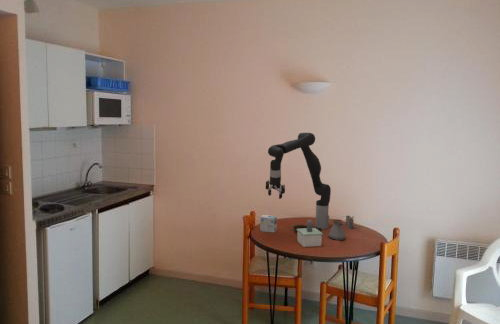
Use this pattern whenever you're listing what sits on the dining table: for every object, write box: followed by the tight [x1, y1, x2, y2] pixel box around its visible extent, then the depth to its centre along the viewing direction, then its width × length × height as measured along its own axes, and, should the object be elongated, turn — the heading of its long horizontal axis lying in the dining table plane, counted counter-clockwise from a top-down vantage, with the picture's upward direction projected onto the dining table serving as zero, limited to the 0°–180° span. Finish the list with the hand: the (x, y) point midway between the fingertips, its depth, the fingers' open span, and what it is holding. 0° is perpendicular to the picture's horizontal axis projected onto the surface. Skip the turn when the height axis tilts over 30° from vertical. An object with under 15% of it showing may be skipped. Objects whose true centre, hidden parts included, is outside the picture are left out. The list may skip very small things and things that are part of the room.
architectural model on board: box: [345, 215, 355, 230], centre depth 299 cm, size 11×3×10 cm, turn 1°
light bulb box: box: [259, 214, 278, 234], centre depth 285 cm, size 11×7×11 cm, turn 71°
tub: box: [296, 231, 323, 248], centre depth 257 cm, size 12×12×8 cm
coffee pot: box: [328, 219, 346, 242], centre depth 264 cm, size 21×12×15 cm, turn 178°
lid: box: [296, 219, 324, 236], centre depth 256 cm, size 13×13×9 cm
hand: (275, 196), depth 272 cm, fingers open, 8 cm apart
